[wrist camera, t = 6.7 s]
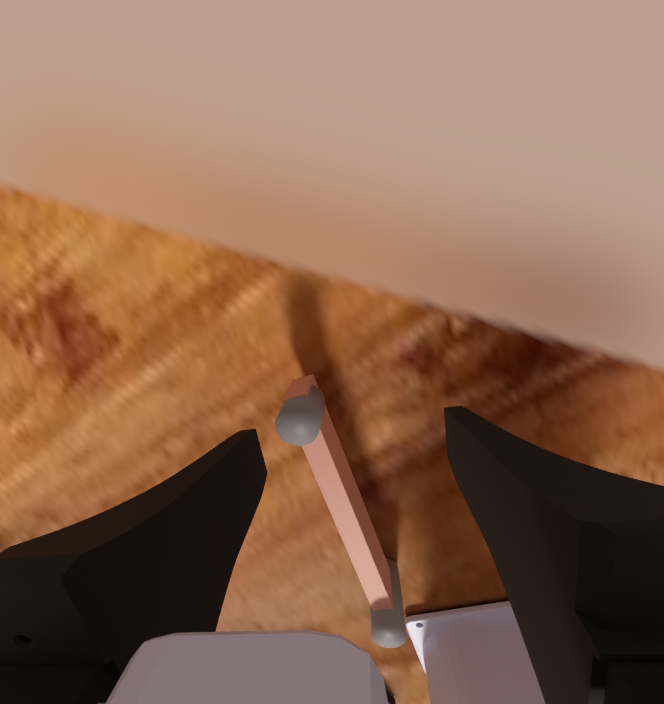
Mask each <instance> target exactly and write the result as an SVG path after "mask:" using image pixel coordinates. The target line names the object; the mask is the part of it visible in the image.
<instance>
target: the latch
mask: <svg viewBox="0 0 664 704" xmlns="http://www.w3.org/2000/svg"><path fill="white" fill-rule="evenodd" d="M282 401H283V403H284V404H283V406H282V408H281V410H280V412H279V414H278V416H277V419H276V430H277V433H278V434H279V436H280V437H281V438H282V439H283V440H284V441H286V442H287V443H289V444H292V445H296V446H302V447H303V450H304V452H305V454H306V457H307V459H308V461H309V464H310V466H311V468H312V471H313V473H314V475H315V478H316V480H317V482H318V484H319V487H320V489H321V491H322V494H323V496H324V498H325V501H326V503H327V505H328V508H329V510H330V512H331V515H332V517H333V519H334V521H335V524H336V526H337V528H338V531H339V533H340V535H341V538H342V540H343V542H344V545H345V547H346V549H347V552H348V554H349V556H350V558H351V561H352V563H353V565H354V568H355V570H356V572H357V575H358V577H359V579H360V582H361V584H362V586H363V589H364V591H365V593H366V595H367V598H368V600H369V602H370V613H371V637H372V639H373V641H374V642H375V643H376V644H378V645H379V646H382V647H385V648H396V647H399V646H401V645H403V644H404V643H405V641H406V639H407V635H406V627H405V619H404V611H403V603H402V595H401V587H400V579H399V571H398V566H397V564H396V563H395V562H394V561H393V560H391V559H388V558H385V555H384V553H383V550H382V548H381V545H380V543H379V540H378V538H377V535H376V533H375V530H374V527H373V525H372V522H371V520H370V517H369V515H368V512H367V510H366V507H365V504H364V502H363V499H362V497H361V494H360V492H359V489H358V487H357V484H356V482H355V479H354V476H353V474H352V471H351V469H350V466H349V464H348V461H347V459H346V456H345V454H344V451H343V448H342V446H341V443H340V441H339V438H338V436H337V433H336V431H335V428H334V426H333V423H332V420H331V418H330V415H329V413H328V410H327V408H326V405H325V403H326V400H325V396H324V394H323V392H322V391H321V390H320V389H319V387H318V385H317V382H316V380H315V377H314V375H313V374H311V375H308V376H305V377H302V378H298V379H295V380H293V381H292V383H291V385H290V387H289V389H288V390H287V392H286V394H285V396H284V398H283V400H282Z"/></svg>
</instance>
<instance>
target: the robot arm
mask: <svg viewBox="0 0 664 704" xmlns="http://www.w3.org/2000/svg"><path fill="white" fill-rule="evenodd" d="M444 415H445V428H446V441H447V454H448V459H449V462H450V465H451V468H452V471H453V473H454V476H455V479H456V482H457V484H458V486H459V488H460V490H461V492H462V494H463V496H464V498H465V500H466V502H467V504H468V506H469V508H470V510H471V512H472V514H473V516H474V518H475V520H476V522H477V524H478V526H479V528H480V530H481V532H482V534H483V536H484V539H485V541H486V543H487V545H488V547H489V550H490V552H491V554H492V557H493V559H494V562H495V564H496V567H497V570H498V572H499V575H500V578H501V580H502V583H503V585H504V588H505V591H506V593H507V596H508V599H509V601H504V602H498V603H491V604H485V605H478V606H472V607H465V608H459V609H452V610H445V611H439V612H432V613H426V614H419V615H413V616H408V617H407V618H406V619H405V623H406V628H407V630H408V633H409V635H410V638H411V640H412V642H413V645H414V647H415V650H416V652H417V655H418V657H419V660H420V662H421V664H422V667H423V669H424V672H425V674H426V677H427V683H428V689H429V695H430V701H431V704H664V486H661V485H657V484H653V483H649V482H645V481H641V480H637V479H633V478H629V477H625V476H621V475H618V474H614V473H611V472H607V471H604V470H601V469H597V468H594V467H591V466H588V465H585V464H582V463H579V462H576V461H573V460H570V459H567V458H565V457H562V456H560V455H557V454H555V453H552V452H550V451H547V450H545V449H542V448H540V447H538V446H535V445H533V444H531V443H529V442H527V441H525V440H523V439H521V438H518V437H516V436H514V435H512V434H510V433H509V432H507V431H505V430H503V429H501V428H499V427H497V426H496V425H494V424H492V423H490V422H489V421H487V420H485V419H484V418H482V417H480V416H478V415H477V414H475V413H473V412H472V411H470V410H468V409H466V408H465V407H463V406H456V407H447V408H444ZM266 477H267V469H266V466H265V462H264V458H263V455H262V451H261V447H260V443H259V440H258V436H257V432H256V429H250V430H241V431H239V432H237V433H235V434H234V435H232V436H231V437H229V438H228V439H226V440H225V441H223V442H222V443H220V444H219V445H218V446H216V447H215V448H213V449H212V450H210V451H209V452H208V453H206V454H205V455H203V456H202V457H200V458H199V459H198V460H196V461H195V462H193V463H192V464H190V465H188V466H187V467H185V468H184V469H182V470H181V471H179V472H178V473H176V474H175V475H173V476H172V477H170V478H168V479H167V480H165V481H163V482H162V483H160V484H158V485H156V486H154V487H153V488H151V489H149V490H147V491H145V492H144V493H142V494H140V495H138V496H136V497H134V498H132V499H129V500H127V501H125V502H123V503H121V504H119V505H117V506H115V507H113V508H111V509H109V510H107V511H104V512H102V513H100V514H97V515H95V516H93V517H90V518H88V519H86V520H83V521H81V522H78V523H76V524H73V525H71V526H68V527H65V528H63V529H60V530H58V531H55V532H52V533H49V534H46V535H43V536H40V537H37V538H35V539H32V540H29V541H26V542H23V543H20V544H17V545H14V546H11V547H9V548H7V549H5V550H4V551H3V552H1V553H0V704H389V703H388V700H387V695H386V690H385V684H384V679H383V676H382V675H381V673H380V671H379V670H378V668H377V666H376V665H375V663H374V661H373V660H372V658H371V656H370V655H369V654H368V653H367V652H366V651H365V650H364V649H363V648H361V647H359V646H357V645H356V644H354V643H352V642H351V641H349V640H347V639H345V638H344V637H342V636H340V635H337V634H331V633H324V632H318V631H312V630H283V631H236V632H215V631H216V627H217V623H218V620H219V616H220V612H221V608H222V605H223V601H224V598H225V594H226V591H227V587H228V584H229V581H230V577H231V574H232V571H233V567H234V565H235V562H236V559H237V556H238V554H239V551H240V549H241V546H242V544H243V541H244V539H245V536H246V534H247V532H248V529H249V527H250V524H251V522H252V519H253V517H254V514H255V512H256V509H257V507H258V504H259V502H260V499H261V496H262V493H263V489H264V485H265V481H266Z"/></svg>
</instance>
